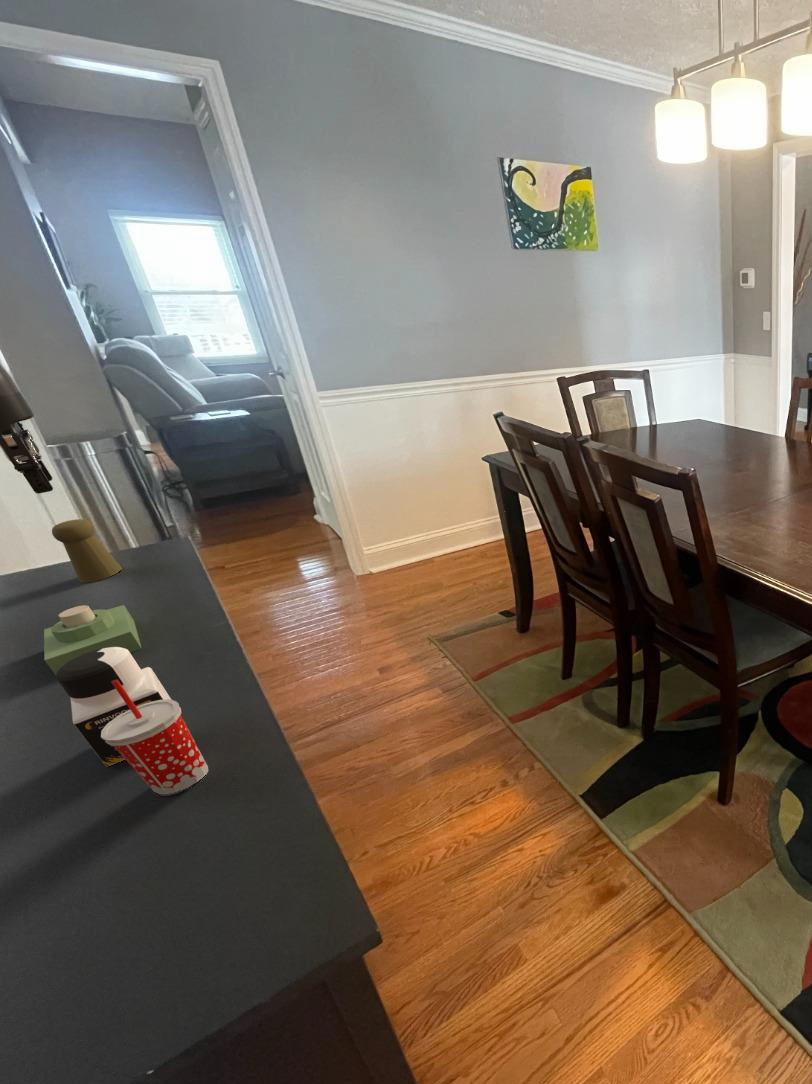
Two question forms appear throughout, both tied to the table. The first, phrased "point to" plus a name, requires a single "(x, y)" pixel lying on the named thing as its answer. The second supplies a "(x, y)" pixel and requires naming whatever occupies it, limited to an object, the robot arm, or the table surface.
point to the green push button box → (90, 636)
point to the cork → (85, 551)
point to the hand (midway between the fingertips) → (45, 486)
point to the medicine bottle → (106, 693)
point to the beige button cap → (77, 616)
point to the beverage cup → (156, 744)
